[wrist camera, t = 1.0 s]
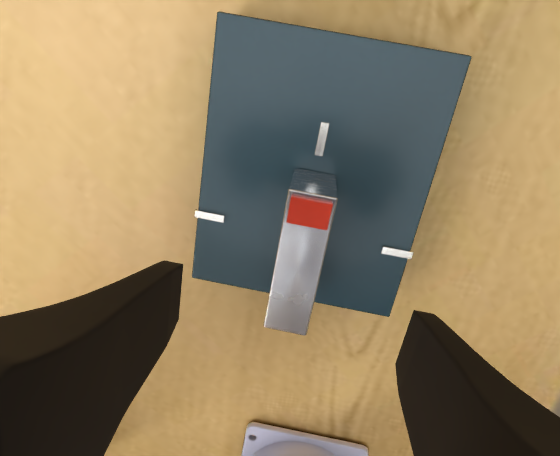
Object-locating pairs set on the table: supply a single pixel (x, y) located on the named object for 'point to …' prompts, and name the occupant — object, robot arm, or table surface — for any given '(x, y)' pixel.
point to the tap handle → (301, 250)
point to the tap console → (320, 151)
